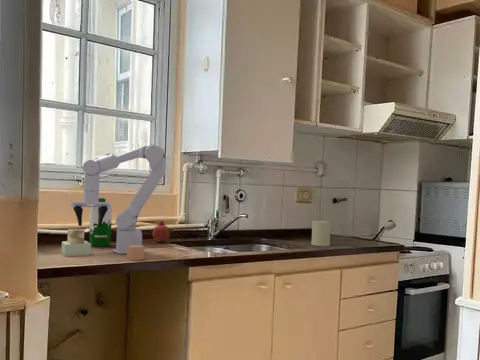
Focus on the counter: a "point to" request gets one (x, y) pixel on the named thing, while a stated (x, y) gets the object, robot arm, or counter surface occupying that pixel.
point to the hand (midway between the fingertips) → (89, 225)
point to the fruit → (161, 232)
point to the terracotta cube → (135, 252)
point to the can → (321, 233)
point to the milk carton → (103, 232)
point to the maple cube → (75, 236)
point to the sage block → (76, 249)
